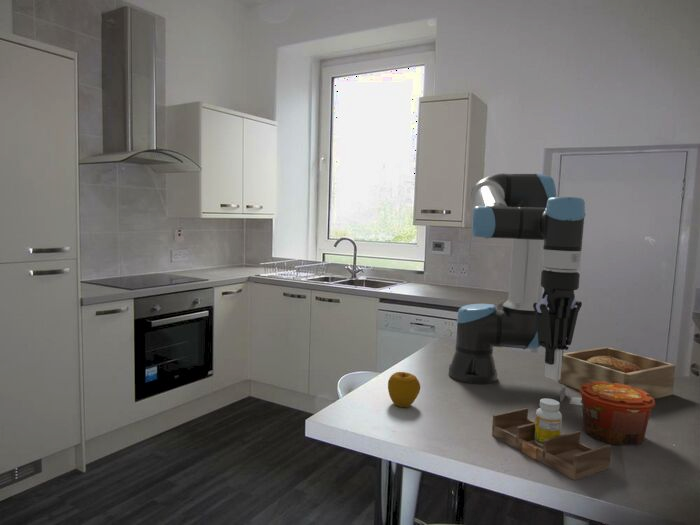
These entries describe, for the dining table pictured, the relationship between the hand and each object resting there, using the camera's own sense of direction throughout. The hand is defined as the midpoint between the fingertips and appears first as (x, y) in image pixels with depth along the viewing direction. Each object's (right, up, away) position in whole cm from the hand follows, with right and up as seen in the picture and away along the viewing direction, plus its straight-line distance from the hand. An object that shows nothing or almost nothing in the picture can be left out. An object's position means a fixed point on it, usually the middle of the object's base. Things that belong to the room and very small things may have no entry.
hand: (552, 377), depth 107 cm
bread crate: (+38, -14, +46) cm, 61 cm away
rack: (-1, -16, +2) cm, 16 cm away
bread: (+38, -14, +46) cm, 61 cm away
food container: (+19, -16, +11) cm, 28 cm away
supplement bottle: (-1, -15, +2) cm, 15 cm away
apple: (-30, -13, +25) cm, 41 cm away
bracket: (+21, -15, +33) cm, 42 cm away
